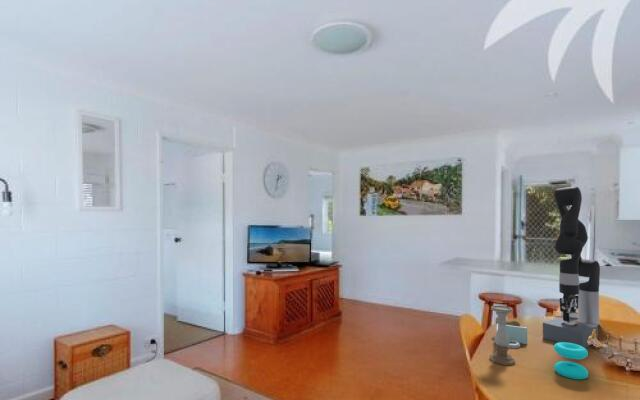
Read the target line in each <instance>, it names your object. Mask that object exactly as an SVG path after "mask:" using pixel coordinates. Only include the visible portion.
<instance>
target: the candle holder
mask: <svg viewBox="0 0 640 400" xmlns="http://www.w3.org/2000/svg"><path fill="white" fill-rule="evenodd" d="M490 310H491V311H494V312H495V314H496V315H497V317H498V319H497V320H496V319H495V322H496V321H497V322H498V330H497V329H496V333H495V336H494V338H493V340H494V343H495V349H496V351H495V352H493V353H492V354H490V355H489V360H490V361H491V362H493V363H494V364H497V365H503V366H512V365H515V363H516V360H515V358H513V357H512V355H511V354H508V351H509V350H510V348H509V347H508V345H509V343H510V339H509V336H508V334H507V332H506V323H507V321H508V320H507V316H508V315H509V314H511V313H513V312H514V310H513V308H512V307H509V306H505V305H492V306H491V307H490Z"/></svg>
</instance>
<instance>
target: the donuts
mask: <svg viewBox="0 0 640 400" xmlns="http://www.w3.org/2000/svg"><path fill="white" fill-rule="evenodd" d="M553 350H554V351H555V353H557V354H558V355H559V356H561V357H563V358H567V359H571V360H584V359H585V358H587V357H588V355H589V352H588V350H587V349H586V348H584V347H582V346H580V345H577V344H573V343H567V342H556V343H555V344H554V345H553ZM553 367H554V371H555V372H556V373H557V374H559V375H560V376H563V377H565V378H568V379H571V380H572V379H573V380H585V379H587V378H588V376H589V371H588V370H587V368H586V367H585V366H583V365H582V364H580V363H577V362H574V361H569V360H559V361H557V362H556V363H555V364H554V366H553Z"/></svg>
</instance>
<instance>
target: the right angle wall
mask: <svg viewBox="0 0 640 400" xmlns="http://www.w3.org/2000/svg"><path fill="white" fill-rule="evenodd" d="M497 330H498V324H497V325H496V331H497ZM506 332H507V334H508V336H509V339H510V343H509V345H508V347H509V349H518V348H519V349H520V348H521V344H523V345H524V344H525V345H528V327H526V326H520V327H519V326H511V325H506Z"/></svg>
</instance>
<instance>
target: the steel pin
mask: <svg viewBox="0 0 640 400" xmlns="http://www.w3.org/2000/svg"><path fill="white" fill-rule="evenodd" d="M560 318H563V312H562V311H560ZM576 320H577V321H578V311H576V312H574V311H570V310H569V321H568V322H567V321H564V325H568V326H573V327H575V321H576Z"/></svg>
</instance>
